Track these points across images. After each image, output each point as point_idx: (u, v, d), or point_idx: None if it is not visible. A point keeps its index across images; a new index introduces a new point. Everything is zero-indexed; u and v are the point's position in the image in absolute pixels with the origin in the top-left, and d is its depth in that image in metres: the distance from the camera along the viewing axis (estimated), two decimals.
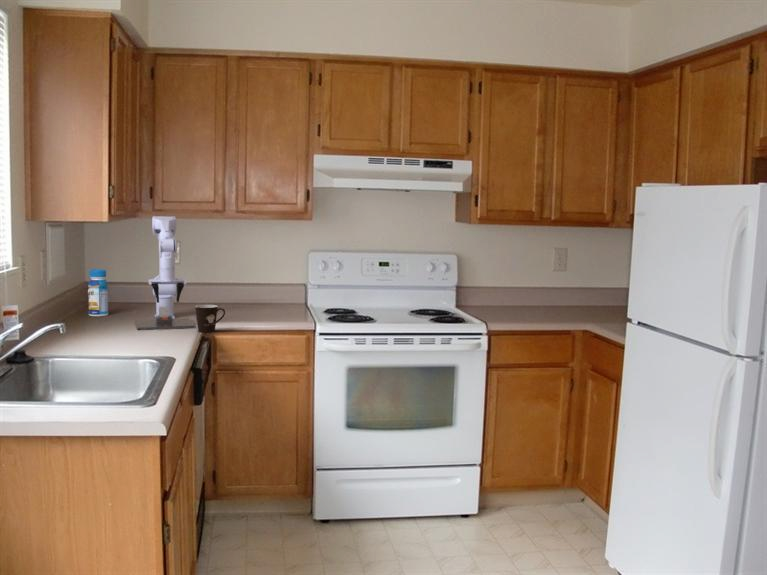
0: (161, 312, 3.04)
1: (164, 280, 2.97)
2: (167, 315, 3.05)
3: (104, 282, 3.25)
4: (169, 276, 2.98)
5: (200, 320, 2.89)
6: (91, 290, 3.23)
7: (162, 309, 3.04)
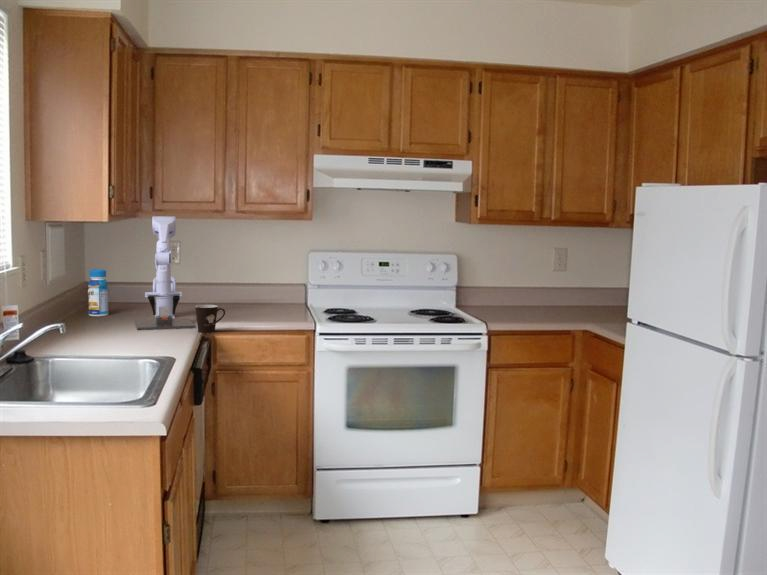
0: (161, 312, 3.04)
1: (160, 293, 3.02)
2: (167, 315, 3.05)
3: (104, 282, 3.25)
4: (165, 289, 3.02)
5: (200, 320, 2.89)
6: (91, 290, 3.23)
7: (162, 309, 3.04)
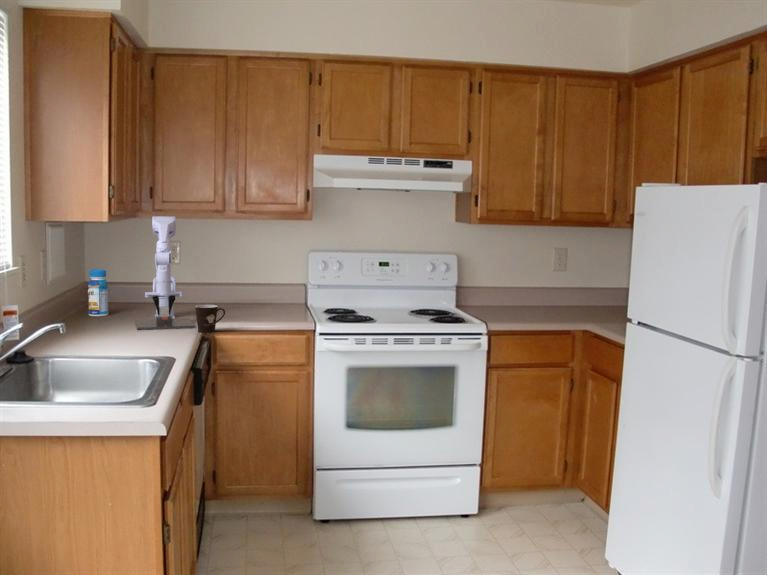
0: (161, 312, 3.04)
1: (160, 293, 3.02)
2: (167, 315, 3.05)
3: (104, 282, 3.25)
4: (165, 289, 3.02)
5: (200, 320, 2.89)
6: (91, 290, 3.23)
7: (162, 309, 3.04)
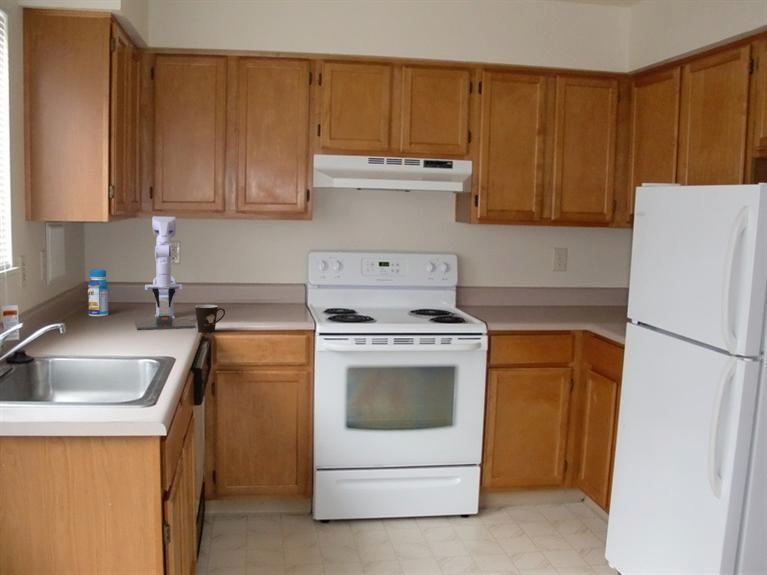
0: (161, 305, 3.03)
1: (160, 285, 3.02)
2: (167, 308, 3.04)
3: (104, 282, 3.25)
4: (165, 282, 3.02)
5: (200, 320, 2.89)
6: (91, 290, 3.23)
7: (162, 302, 3.03)
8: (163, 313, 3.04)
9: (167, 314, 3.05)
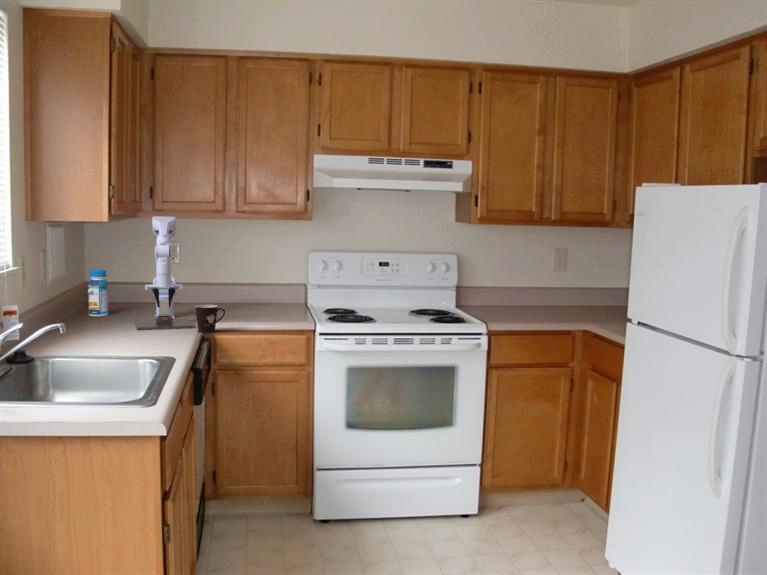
0: (161, 305, 3.03)
1: (160, 285, 3.02)
2: (167, 308, 3.04)
3: (104, 282, 3.25)
4: (165, 282, 3.02)
5: (200, 320, 2.89)
6: (91, 290, 3.23)
7: (162, 302, 3.03)
8: (163, 313, 3.04)
9: (167, 314, 3.05)
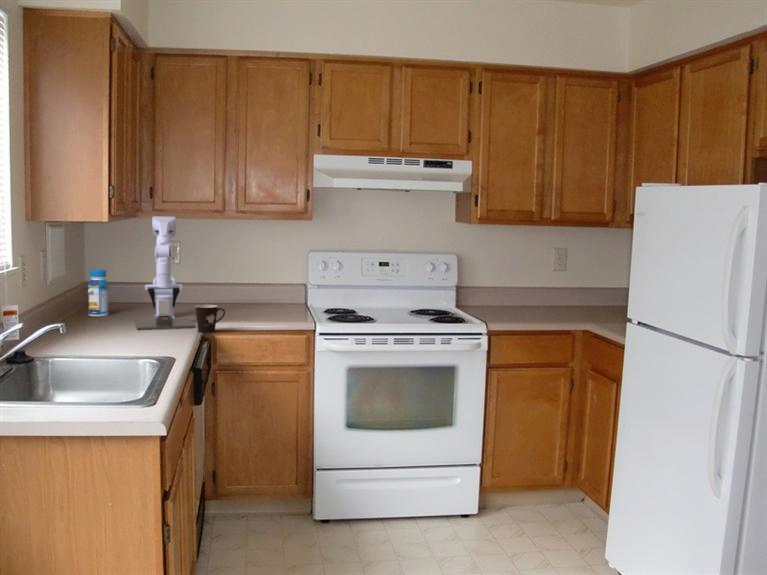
0: (161, 305, 3.03)
1: (160, 285, 3.02)
2: (167, 308, 3.04)
3: (104, 282, 3.25)
4: (165, 281, 3.02)
5: (200, 320, 2.89)
6: (91, 290, 3.23)
7: (162, 302, 3.03)
8: (163, 313, 3.04)
9: (167, 314, 3.05)
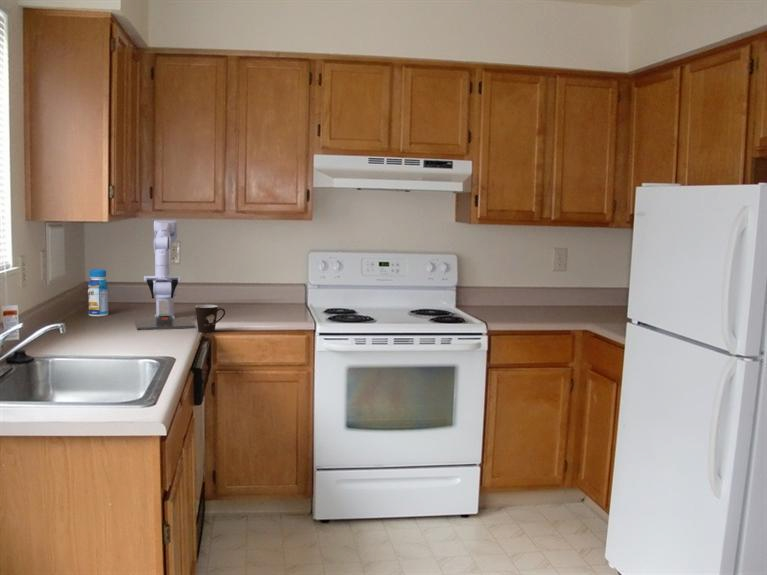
0: (161, 305, 3.03)
1: (159, 276, 3.07)
2: (167, 308, 3.04)
3: (104, 282, 3.25)
4: (163, 273, 3.07)
5: (200, 320, 2.89)
6: (91, 290, 3.23)
7: (162, 302, 3.03)
8: (163, 313, 3.04)
9: (167, 314, 3.05)
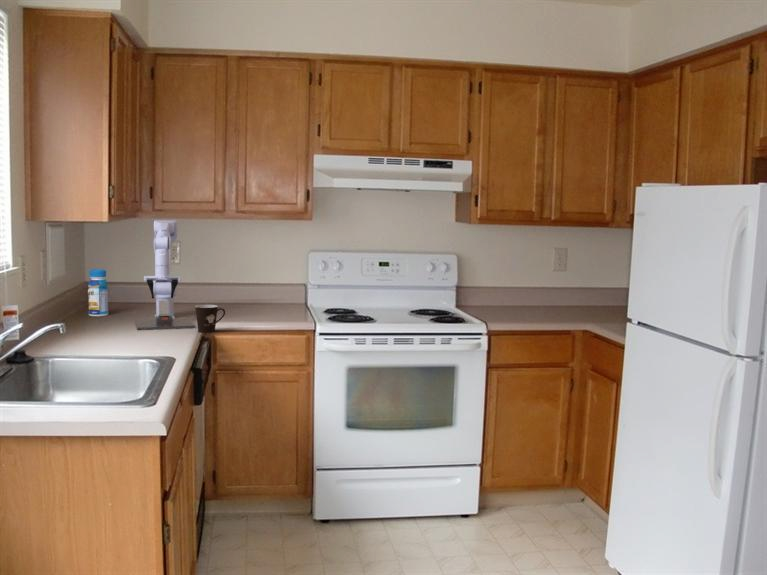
0: (161, 305, 3.03)
1: (159, 276, 3.07)
2: (167, 308, 3.04)
3: (104, 282, 3.25)
4: (163, 273, 3.07)
5: (200, 320, 2.89)
6: (91, 290, 3.23)
7: (162, 302, 3.03)
8: (163, 313, 3.04)
9: (167, 314, 3.05)
